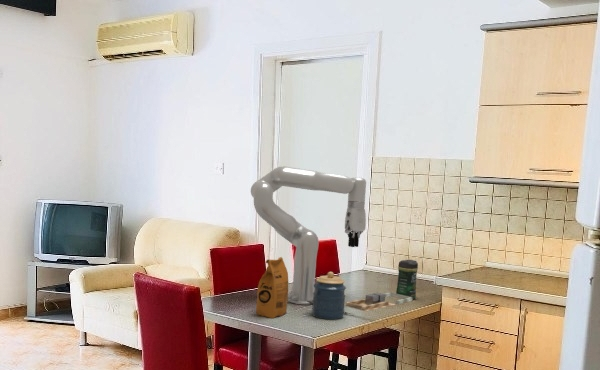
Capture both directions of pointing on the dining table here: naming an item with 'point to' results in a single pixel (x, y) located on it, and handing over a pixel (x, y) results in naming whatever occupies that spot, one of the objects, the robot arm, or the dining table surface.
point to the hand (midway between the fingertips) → (353, 246)
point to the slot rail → (362, 306)
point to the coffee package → (273, 290)
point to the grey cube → (380, 297)
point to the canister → (329, 297)
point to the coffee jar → (407, 278)
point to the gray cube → (371, 299)
